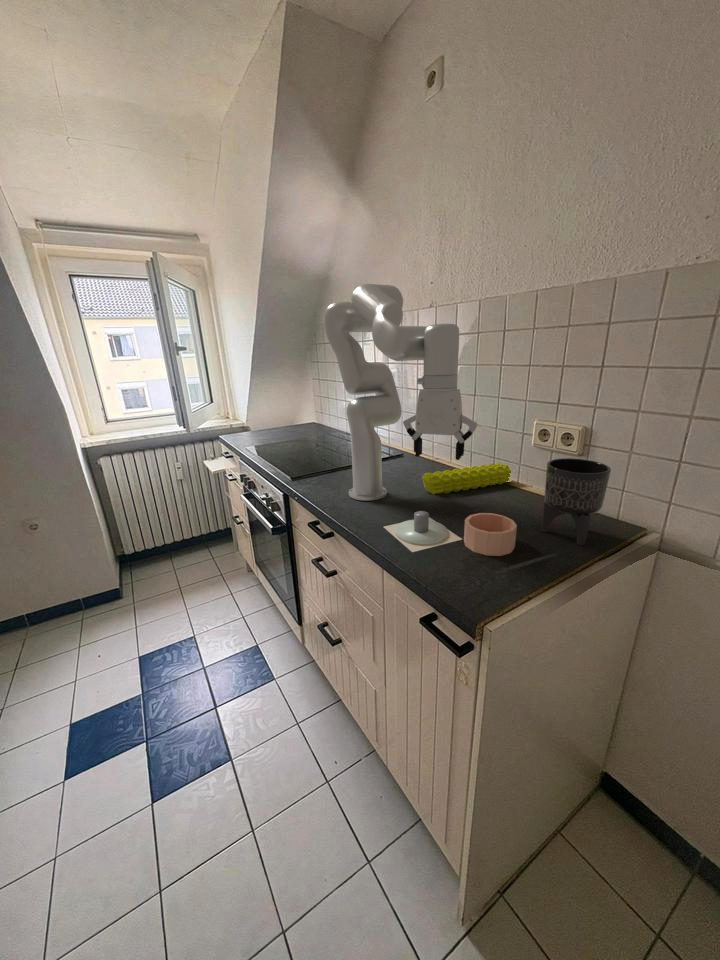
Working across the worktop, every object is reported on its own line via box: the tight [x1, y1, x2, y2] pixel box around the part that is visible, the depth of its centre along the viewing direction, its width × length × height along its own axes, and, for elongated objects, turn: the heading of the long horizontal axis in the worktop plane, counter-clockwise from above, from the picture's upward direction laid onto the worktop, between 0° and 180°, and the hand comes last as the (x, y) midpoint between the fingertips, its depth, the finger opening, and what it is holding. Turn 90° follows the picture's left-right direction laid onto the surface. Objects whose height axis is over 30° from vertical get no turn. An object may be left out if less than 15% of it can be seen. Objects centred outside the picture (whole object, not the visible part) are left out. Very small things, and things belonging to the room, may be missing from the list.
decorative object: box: [421, 462, 511, 495], centre depth 126 cm, size 7×33×7 cm, turn 109°
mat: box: [383, 516, 464, 553], centre depth 95 cm, size 15×14×1 cm
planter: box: [541, 457, 612, 546], centre depth 90 cm, size 13×13×18 cm
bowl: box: [463, 512, 518, 557], centre depth 88 cm, size 11×11×6 cm
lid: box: [395, 510, 449, 545], centre depth 94 cm, size 13×13×5 cm
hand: (438, 456), depth 90 cm, fingers open, 9 cm apart
